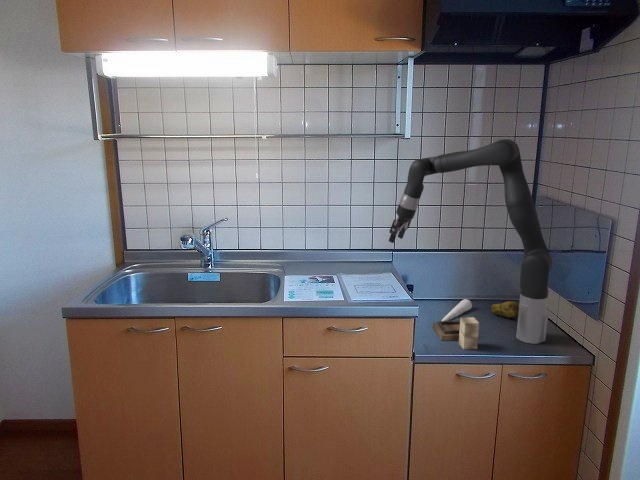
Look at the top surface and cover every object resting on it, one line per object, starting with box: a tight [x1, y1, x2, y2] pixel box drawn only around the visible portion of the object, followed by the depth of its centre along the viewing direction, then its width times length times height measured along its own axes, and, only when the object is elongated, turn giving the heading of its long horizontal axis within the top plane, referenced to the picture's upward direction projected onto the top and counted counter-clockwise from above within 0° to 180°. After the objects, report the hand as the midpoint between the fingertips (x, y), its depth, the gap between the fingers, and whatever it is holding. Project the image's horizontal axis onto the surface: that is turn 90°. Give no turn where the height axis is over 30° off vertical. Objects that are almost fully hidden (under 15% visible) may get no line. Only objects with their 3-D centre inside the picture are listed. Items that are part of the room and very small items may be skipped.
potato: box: [490, 300, 519, 318], centre depth 200 cm, size 8×13×8 cm, turn 18°
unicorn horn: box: [441, 298, 473, 321], centre depth 203 cm, size 5×24×5 cm, turn 133°
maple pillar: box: [458, 316, 480, 350], centre depth 175 cm, size 5×5×10 cm
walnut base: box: [432, 319, 460, 342], centre depth 187 cm, size 12×12×3 cm
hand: (395, 239), depth 206 cm, fingers open, 8 cm apart
